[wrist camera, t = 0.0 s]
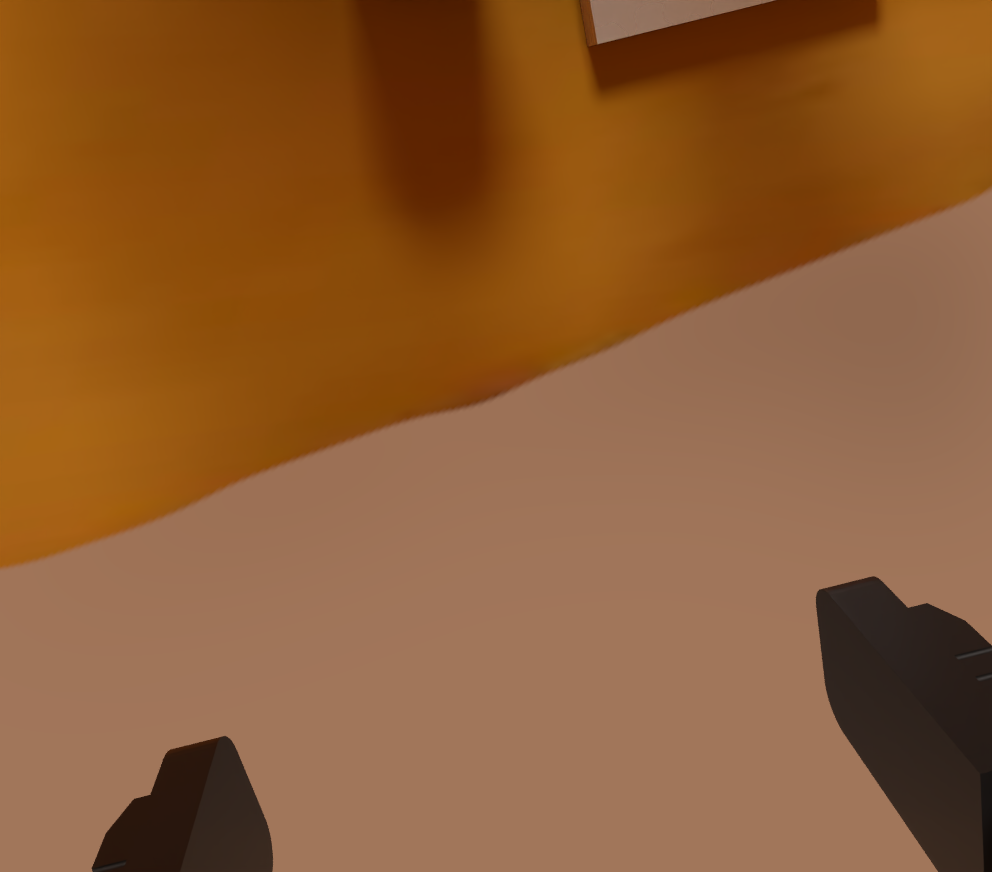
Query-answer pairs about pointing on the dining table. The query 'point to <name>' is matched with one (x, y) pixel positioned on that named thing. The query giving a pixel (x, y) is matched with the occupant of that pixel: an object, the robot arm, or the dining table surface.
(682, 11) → the press
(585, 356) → the dining table surface
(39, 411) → the dining table surface
